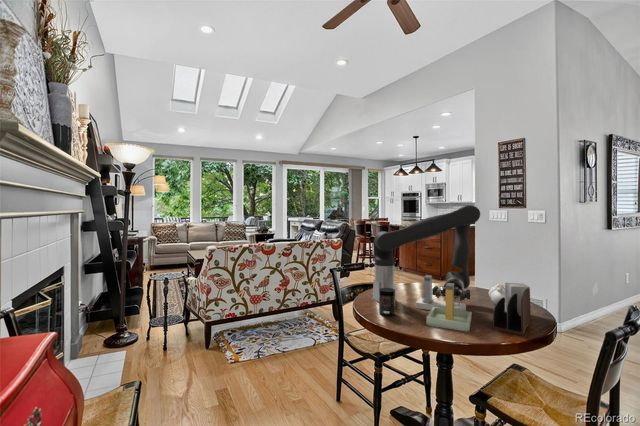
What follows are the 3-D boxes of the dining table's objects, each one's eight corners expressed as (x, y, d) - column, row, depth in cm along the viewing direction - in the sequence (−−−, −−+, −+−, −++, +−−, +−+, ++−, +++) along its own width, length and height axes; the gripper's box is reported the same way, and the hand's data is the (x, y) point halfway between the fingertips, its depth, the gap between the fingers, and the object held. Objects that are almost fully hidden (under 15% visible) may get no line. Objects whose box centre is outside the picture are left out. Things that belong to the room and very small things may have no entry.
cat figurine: (506, 288, 148) (497, 277, 162) (489, 296, 150) (481, 284, 164) (518, 306, 148) (507, 293, 162) (500, 314, 150) (491, 301, 164)
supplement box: (530, 317, 137) (530, 287, 137) (510, 316, 138) (510, 286, 138) (523, 312, 144) (523, 282, 144) (504, 311, 146) (504, 282, 145)
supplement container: (394, 311, 145) (394, 288, 145) (395, 317, 138) (395, 292, 138) (378, 311, 146) (378, 287, 146) (379, 316, 139) (379, 291, 139)
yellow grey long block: (445, 321, 130) (445, 285, 130) (447, 317, 135) (447, 282, 134) (452, 322, 129) (452, 286, 129) (453, 318, 133) (454, 283, 133)
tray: (469, 331, 122) (469, 323, 122) (426, 325, 129) (426, 317, 129) (471, 319, 135) (471, 311, 135) (432, 313, 142) (433, 306, 142)
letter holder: (530, 320, 134) (531, 285, 133) (523, 336, 118) (523, 296, 118) (502, 315, 140) (503, 282, 140) (492, 329, 125) (492, 292, 124)
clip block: (416, 308, 150) (416, 300, 150) (419, 303, 157) (419, 296, 157) (464, 314, 141) (464, 307, 141) (466, 309, 148) (466, 302, 147)
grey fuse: (424, 308, 150) (424, 277, 149) (426, 305, 154) (426, 275, 154) (429, 309, 148) (430, 277, 148) (431, 306, 153) (432, 275, 153)
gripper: (436, 277, 148) (430, 285, 133) (472, 280, 141) (469, 289, 127) (436, 294, 148) (430, 304, 133) (471, 298, 141) (469, 309, 127)
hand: (449, 296), depth 130 cm, fingers open, 8 cm apart
